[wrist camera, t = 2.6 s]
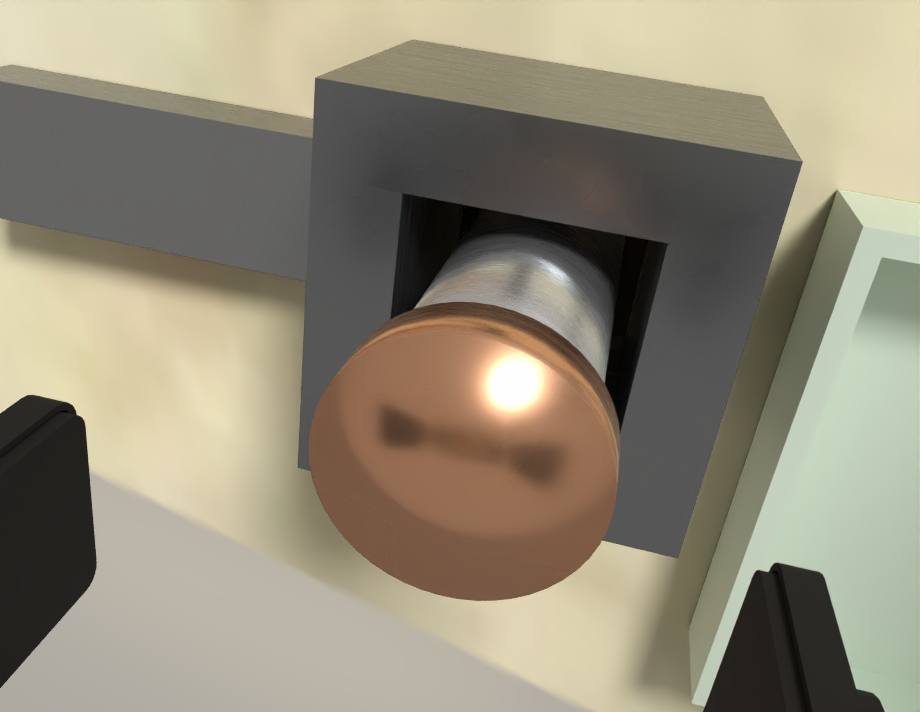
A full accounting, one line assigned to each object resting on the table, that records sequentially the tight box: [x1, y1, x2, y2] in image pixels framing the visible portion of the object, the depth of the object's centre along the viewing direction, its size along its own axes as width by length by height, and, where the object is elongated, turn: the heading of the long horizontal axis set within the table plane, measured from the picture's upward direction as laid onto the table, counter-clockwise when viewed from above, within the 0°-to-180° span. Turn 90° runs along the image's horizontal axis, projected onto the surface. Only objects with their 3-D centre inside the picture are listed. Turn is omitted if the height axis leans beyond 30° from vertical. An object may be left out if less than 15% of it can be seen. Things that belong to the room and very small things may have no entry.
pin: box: [309, 208, 625, 601], centre depth 18 cm, size 5×5×12 cm
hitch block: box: [0, 40, 803, 558], centre depth 21 cm, size 21×9×7 cm, turn 82°
